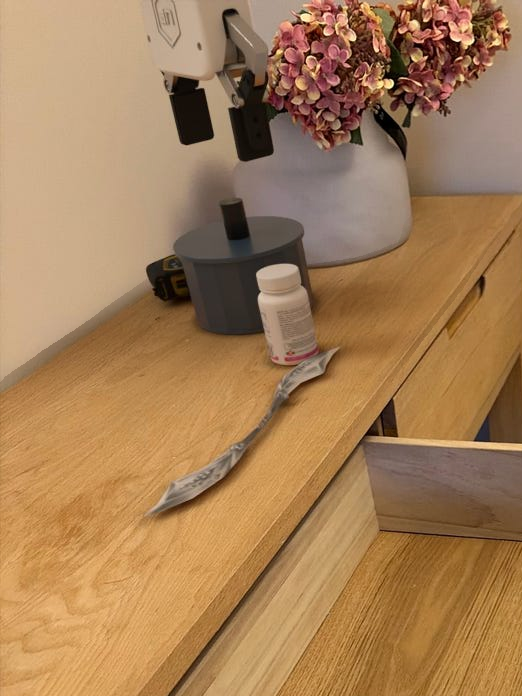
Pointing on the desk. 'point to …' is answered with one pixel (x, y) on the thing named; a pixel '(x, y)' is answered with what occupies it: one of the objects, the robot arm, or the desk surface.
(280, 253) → the pot
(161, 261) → the tape measure
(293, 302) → the pill bottle
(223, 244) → the pot lid
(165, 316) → the desk surface
